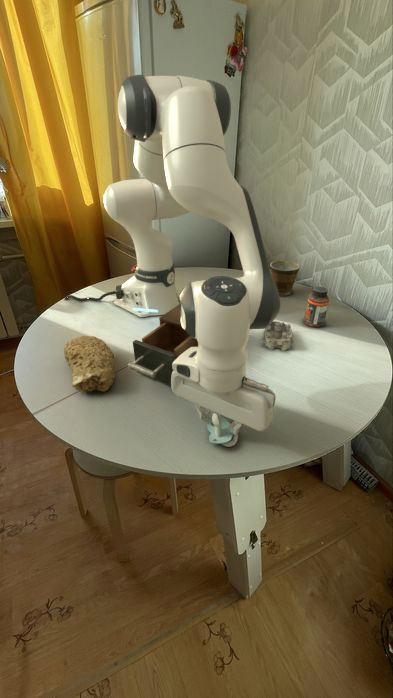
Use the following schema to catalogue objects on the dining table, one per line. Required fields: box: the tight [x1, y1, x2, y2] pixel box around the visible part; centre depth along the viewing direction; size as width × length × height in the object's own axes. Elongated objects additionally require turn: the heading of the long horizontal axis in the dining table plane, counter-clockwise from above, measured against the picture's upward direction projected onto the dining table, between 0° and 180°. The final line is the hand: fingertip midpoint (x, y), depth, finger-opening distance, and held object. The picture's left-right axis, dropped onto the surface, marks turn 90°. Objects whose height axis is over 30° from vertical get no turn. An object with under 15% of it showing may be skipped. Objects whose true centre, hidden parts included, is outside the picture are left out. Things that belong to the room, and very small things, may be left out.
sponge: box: [63, 335, 116, 393], centre depth 87 cm, size 13×8×20 cm
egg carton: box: [263, 320, 293, 351], centre depth 99 cm, size 11×8×4 cm
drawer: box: [127, 322, 198, 387], centre depth 85 cm, size 19×11×9 cm, turn 148°
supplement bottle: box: [303, 286, 330, 328], centre depth 105 cm, size 6×6×11 cm
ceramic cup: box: [269, 259, 301, 297], centre depth 124 cm, size 13×10×10 cm
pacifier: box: [206, 412, 239, 448], centre depth 69 cm, size 7×6×6 cm
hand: (219, 424), depth 70 cm, fingers closed on pacifier, 5 cm apart
